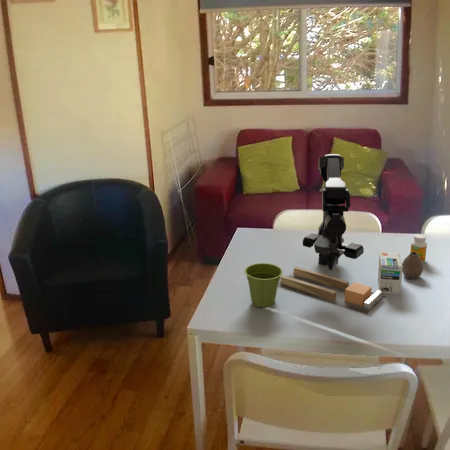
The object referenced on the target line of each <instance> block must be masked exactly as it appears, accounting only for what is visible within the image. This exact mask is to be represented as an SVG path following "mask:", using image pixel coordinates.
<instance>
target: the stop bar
mask: <svg viewBox="0 0 450 450" xmlns="http://www.w3.org/2000/svg"><path fill="white" fill-rule="evenodd" d="M373 293H374V294H373V295H372V296H371V297H370V298H369V299H367V300H366V301H365V302H364V310H366V311H369V310H370V309H371V308H372V307H373V306H374V305H375V304H376V303H377V302H378V301H379V300H380V299H381V298H382V295H383V293H382V291H380V290H379V289H377V290H376V291H375V292H373Z"/></svg>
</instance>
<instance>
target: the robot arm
mask: <svg viewBox="0 0 450 450" xmlns="http://www.w3.org/2000/svg"><path fill="white" fill-rule="evenodd" d="M344 169H345V157H343V156H341V154H338V153H335V154H334V153H330V154H329V153H327V154H325V155H324V156H320V157H318V169H317V170H319V171H320V172H319V173H320V176H321V178H322V180H323V188H322V189H321V190H322V191H321V192H322V194H321V201H322V202H321V203H322V209H321V210H322V213H323V214H322V222H321V224H320V225H319V227H318V229H317V233H309V234H308V235H306V236H304V237H303V238H302V246H303V247H305V248H312V247H314V252H315V253H316V254H318V264H319V265H322V266H327V267H328V270H329V271H331V272H332V271H333V270H335V269H334V268H335V267H336V265H337V263H339V259H340V258H341V256H342V255H344V256H345V258H350V259H352V260H355V259H356V260H357V259H358V258H359V257H361V256H362V255H363V254H364V251H365V248H364V246H363V245H362V244H360V243H354V242H350V243H349V244H348V245H347V244H344V241H345V239H344V238H343V235H344V234H345V232H346V231H347V224H346V220H345V217H344V216H345V215H344V212H346V213H347V212H349V209H350V208H351V194H350V191H349V189H347V186H346V182H345V181H343V180H342V177H341V176H342V171H344Z"/></svg>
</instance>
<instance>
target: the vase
mask: <svg viewBox="0 0 450 450" xmlns="http://www.w3.org/2000/svg"><path fill="white" fill-rule="evenodd" d="M401 263H402V265H403V270H402V275H404V277H406V278H407V279H410V280H416V279H418V278H420V277H421V275H422V273H423V271H424V263H422V260H421V259H420V257H419V256H418V253H416V252H411V253H409V254H408V255H407V256H406V257H405V258H404V259H403V261H402V262H401Z"/></svg>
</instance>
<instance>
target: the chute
mask: <svg viewBox="0 0 450 450" xmlns="http://www.w3.org/2000/svg"><path fill="white" fill-rule="evenodd" d="M349 286H350V285H349V280H345V279H341V278H337V277H334V276H331V275H328V274H323V273H321V272H316V271H312V270H309V269H306V268H303V267H299V266H295V267H294V268H293V272H292V273H290V274H288V275H287V276H286V275H283V274H282V275H281V276H280V280H279V283H278V287H280V288H282V289H285V290H289V291H292V292H295V293H299V294H301V295H304V296H308V297H310V298H314V299H317V300H321V301H324V302H327V303H330V304H333V305H336V306H339V307H343V308H346V309H349V310H352V311H354V312H358V313H362V314H364V315H368V314H369V313H370V312H372V310H374V309H375V307H377V306H378V304H380V302H382V301H383V300H384V299H385V298H386V296H385V295H383V294H382V298H381V299H380V300H379V301H378V302H377V303H376V304H375V305H374V306H373V307H372V308H371V309H370V310H369V311H366V310H364V305H363V306H360V305H357V304H354V303H351V302H348V301H345V289H346V288H347V287H349ZM374 293H375V292H372V291H371V296H372V295H373V294H374Z"/></svg>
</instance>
